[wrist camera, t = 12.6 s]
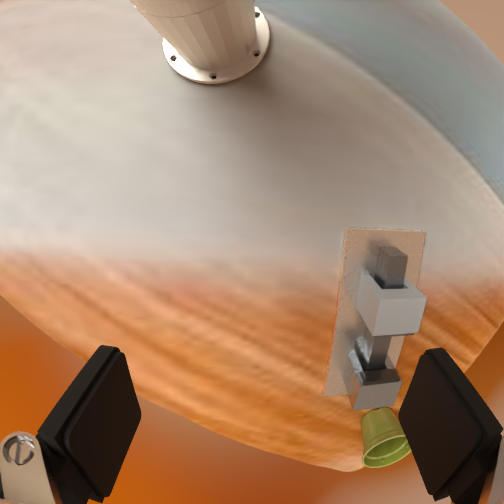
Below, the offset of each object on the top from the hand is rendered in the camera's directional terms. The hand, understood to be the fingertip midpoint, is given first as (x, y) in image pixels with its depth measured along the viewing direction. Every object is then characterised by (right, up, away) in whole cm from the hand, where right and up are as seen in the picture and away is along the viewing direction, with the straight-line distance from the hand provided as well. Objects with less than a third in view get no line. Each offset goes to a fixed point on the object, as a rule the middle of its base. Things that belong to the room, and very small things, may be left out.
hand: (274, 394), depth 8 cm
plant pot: (+22, -25, +37) cm, 50 cm away
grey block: (+16, -1, +28) cm, 32 cm away
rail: (+16, -5, +31) cm, 35 cm away
